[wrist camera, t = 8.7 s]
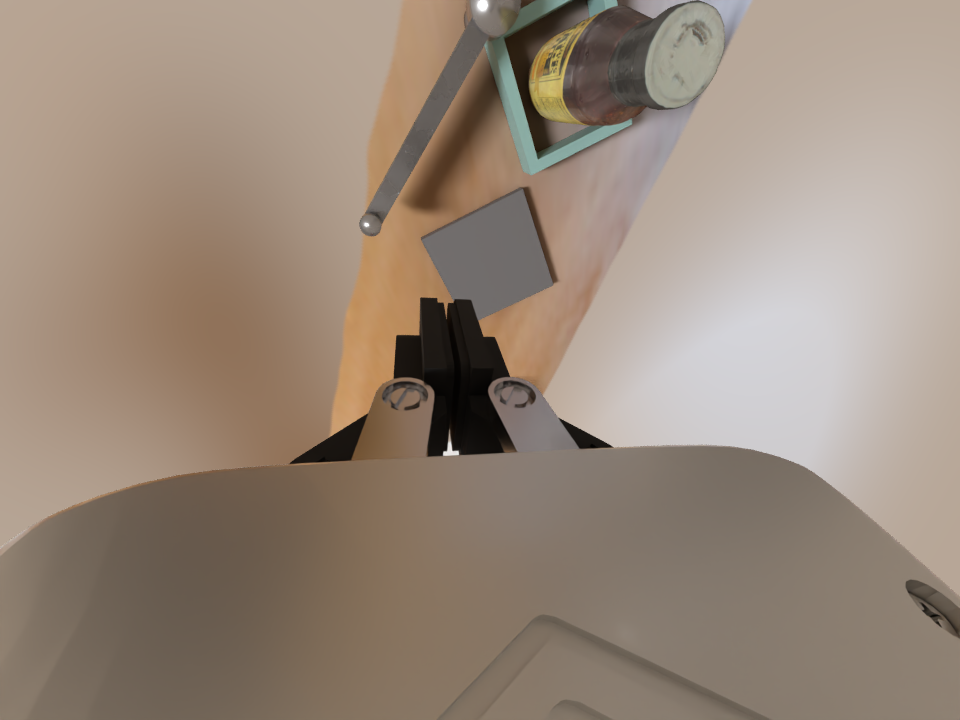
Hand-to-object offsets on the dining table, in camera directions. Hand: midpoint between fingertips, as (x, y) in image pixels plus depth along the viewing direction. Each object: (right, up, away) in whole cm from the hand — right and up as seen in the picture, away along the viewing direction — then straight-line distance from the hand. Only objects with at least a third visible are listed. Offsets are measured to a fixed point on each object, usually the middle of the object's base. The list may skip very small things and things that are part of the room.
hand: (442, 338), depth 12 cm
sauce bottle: (+8, +25, +21) cm, 34 cm away
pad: (+2, +11, +29) cm, 32 cm away
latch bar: (-3, +20, +18) cm, 26 cm away
